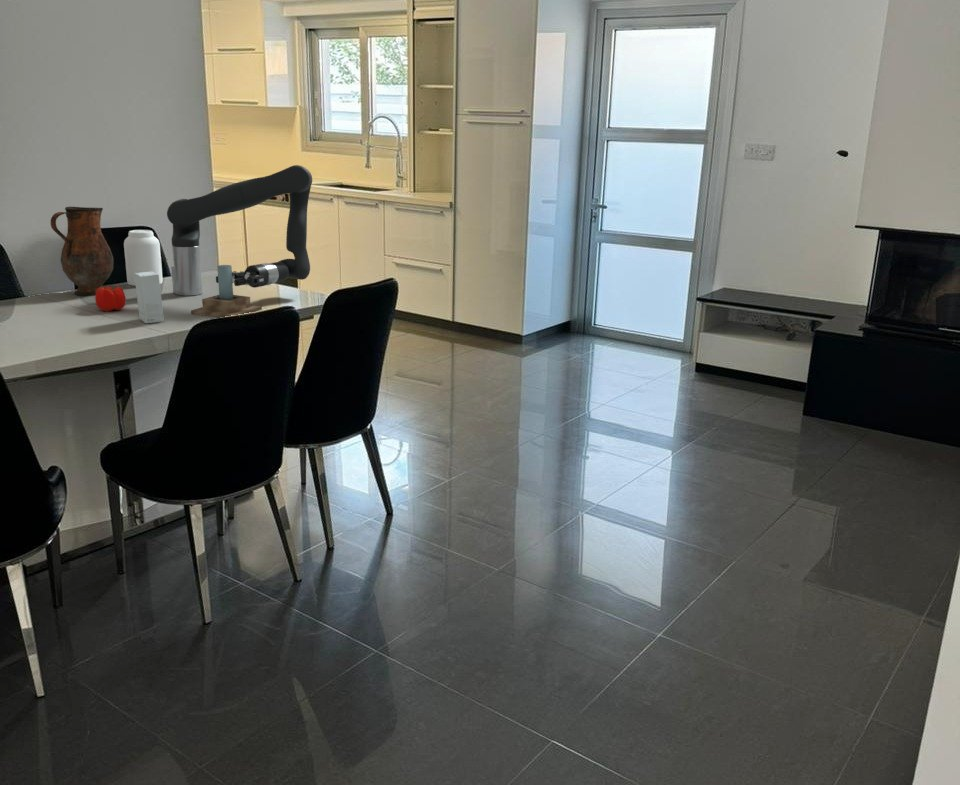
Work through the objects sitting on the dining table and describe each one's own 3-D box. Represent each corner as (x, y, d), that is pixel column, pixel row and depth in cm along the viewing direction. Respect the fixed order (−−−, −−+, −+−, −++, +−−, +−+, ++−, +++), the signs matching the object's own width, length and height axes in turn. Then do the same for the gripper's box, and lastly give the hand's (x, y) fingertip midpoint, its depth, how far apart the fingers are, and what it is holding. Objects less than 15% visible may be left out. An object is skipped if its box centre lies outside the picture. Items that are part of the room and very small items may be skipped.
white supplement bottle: (141, 288, 315) (136, 233, 309) (120, 284, 322) (115, 230, 315) (169, 283, 325) (165, 230, 319) (149, 279, 332) (144, 227, 326)
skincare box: (164, 322, 265) (160, 274, 260) (144, 324, 262) (139, 275, 257) (157, 316, 272) (153, 270, 267) (137, 318, 268) (133, 271, 264)
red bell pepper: (90, 311, 277) (88, 288, 274) (111, 306, 285) (109, 283, 282) (113, 314, 273) (111, 291, 271) (133, 309, 281) (131, 286, 279)
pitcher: (127, 291, 308) (119, 207, 299) (78, 301, 289) (68, 211, 280) (93, 286, 314) (84, 203, 305) (43, 296, 296) (32, 208, 287)
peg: (217, 308, 281) (214, 266, 277) (225, 306, 285) (223, 264, 280) (228, 310, 279) (225, 267, 275) (236, 307, 283) (234, 265, 279)
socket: (191, 313, 278) (190, 299, 276) (222, 304, 292) (221, 291, 291) (232, 318, 272) (231, 304, 271) (261, 309, 287) (261, 296, 285)
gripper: (246, 261, 295) (209, 267, 282) (276, 266, 288) (240, 272, 275) (247, 283, 297) (211, 290, 284) (277, 288, 290) (242, 295, 277)
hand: (225, 281), depth 279 cm, fingers open, 8 cm apart
